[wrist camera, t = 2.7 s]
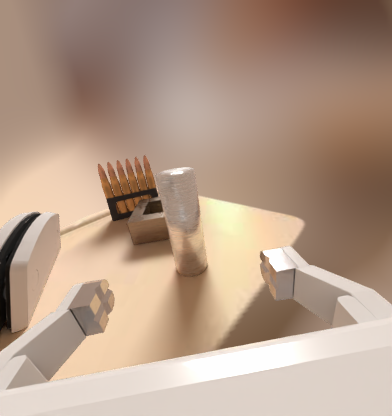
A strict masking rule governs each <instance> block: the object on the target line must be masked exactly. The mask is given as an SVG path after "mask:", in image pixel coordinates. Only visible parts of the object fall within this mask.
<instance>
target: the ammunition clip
mask: <svg viewBox="0 0 392 416" xmlns="http://www.w3.org/2000/svg"><path fill="white" fill-rule="evenodd" d="M143 161H144V168H145V173H146V179H145V176H144V174H143V171H142V168H141V165H140V163H139V161H138V159H137V158H136V157H135V167H136V173H137V180H138V183H137V180H136V177H135V175H134V172H133V169H132V166H131V164H130V162H129V160H128V159H126V169H127V174H128V180H129V183H128V180H127V178H126V175H125V173H124V170H123V167H122V165H121V164H120V162H119V161H118V160H117V171H118V174H119V179H120V183H119V181H118V179H117V177H116V175H115V172H114V169H113V167H112V166H111V164H110V163H109V162H108V163H107V165H108V173H109V176H110V180H111V185H110V183H109V181H108V179H107V176H106V174H105V171H104V169H103V168H102V166H101V165H100V164H98V172H99V176H100V179H101V183H102V188H103V190H104V193H105V196H106V199H107V203H108V206H109V210H110V213H111V216H112V220H113V221H116V220H120V219H124V218H128V217H130V216H131V215H132V213H133V211H134V209H135V207H136V206H137V204H138V202H139V200H142V199H149V198H150V197H151V198H155V197H158V193H157V189H156V185H155V181H154V177H153V174H152V171H151V168H150V165H149V162H148V160H147V158H146V156H145V155H144V160H143ZM146 180H147V183H146ZM120 184H121V186H120ZM129 184H130V186H129ZM138 184H139V186H138ZM147 184H148V187H147ZM111 186H112V188H111ZM121 187H122V190H121ZM130 187H131V189H130ZM139 187H140V189H139ZM112 189H113V191H112ZM122 191H123V193H122ZM113 192H114V193H113ZM141 196H142V197H141ZM133 198H134V199H133ZM125 201H126V202H125ZM134 201H135V202H134ZM117 204H118V205H117ZM126 204H127V205H126ZM135 205H136V206H135ZM118 207H119V208H118ZM127 207H128V208H127ZM119 210H120V211H119Z"/></svg>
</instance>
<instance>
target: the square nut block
mask: <svg viewBox="0 0 392 416" xmlns="http://www.w3.org/2000/svg"><path fill="white" fill-rule="evenodd" d="M127 225H128V228H129V231H130V234H131V237H132V240H133V243H134V245H136V244H142V243H148V242H154V241H160V240H166V239H170V238H169V234H168V229H167V225H166V221H165V216H164V212H163V207H162V203H161V199H160V197H155V198H149V199H142V200H139V202H138V204H137V206H136V207H135V209H134V211H133V213H132V215H131V216H130V218H129V220H128V222H127Z"/></svg>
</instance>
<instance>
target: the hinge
mask: <svg viewBox="0 0 392 416" xmlns="http://www.w3.org/2000/svg"><path fill="white" fill-rule="evenodd" d="M60 248H61V241H60V224H59V214H56V213H51V212H46V213H43V214H40V213H39V212H30V213H23V214H20V215H17V216H15V217H14V218H12V219H11V220H9V221H8V222H7V223H6V224H5V225H4V226H3V227H2V228H1V229H0V330H1V329H2V327H3V325H4V323H5V321H6V319H7V329H12V333H14V332H17V331H20V330H22V329H24V328H26V327H28V325H29V323H30V321H31V318H32V316H33V313H34V311H35V309H36V306H37V304H38V301H39V299H40V296H41V294H42V292H43V289H44V287H45V284H46V282H47V280H48V277H49V275H50V272H51V270H52V267H53V265H54V263H55V260H56V258H57V255H58V253H59V250H60Z"/></svg>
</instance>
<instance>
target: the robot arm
mask: <svg viewBox="0 0 392 416" xmlns="http://www.w3.org/2000/svg"><path fill="white" fill-rule="evenodd" d="M260 258H261V260H262V263H261V264H260V269H261V274H262V277H263V279H264V281H265V283H267V284H269V289H270V291H271V293H272V295H273V297H274V298H275V300H282V299H289V298H293V299H294V300H296V301H297V302H299V303H300V304H301V305H303V306H304V307H306V308H307V309H309V310H310V311H311V312H313V313H314V314H316V315H317V316H318V317H320V318H321V319H323V320H324V321H326V322H327V323H328V324H330V325H331V326H332V328H331V329H327V330H322V331H316V332H311V333H306V334H301V335H295V336H289V337H284V338H279V339H274V340H268V341H263V342H258V343H252V344H247V345H242V346H237V347H231V348H227V349H221V350H215V351H210V352H205V353H199V354H194V355H189V356H183V357H178V358H173V359H167V360H162V361H157V362H151V363H146V364H141V365H135V366H130V367H125V368H119V369H114V370H109V371H103V372H98V373H93V374H87V375H82V376H77V377H72V378H66V379H61V380H56V381H50V382H49V380H50V379H51V378H52V377H53V375H54V374H55V373H56V372H57V371H58V370H59V368H60V367H61V366H62V365H63V364H64V363H65V361H66V360H67V359H68V358H69V357H70V355H71V354H72V353H73V352H74V351H75V350H76V348H77V347H78V346H79V345H80V344H81V343H82V341H83V340H84V339H85V338H86V336H89V335H94V334H98V333H103V332H104V331H105V328H106V326H107V323H108V320H109V318H108V316H107V315H108V314H109V313H110V312H111V311H112V309H113V307H114V294H113V292H112V291H111V290H109V289H108V287H109V283H108V281H107V280H105V279H104V280H97V281H91V282H85V283H79V284H75V285H73V286H72V288H71V289H70V291H69V292H68V294H67V295H66V297H65V298H64V300H63V301H62V302H61V304H60V305H59V307H58V308H57V310H56V311H55V312H53V313H50V314H49V315H48V316H46V317H45V318H44V319H43V320H41V321H40V322H39V323H37V324H36V325H35V326H33V327H32V328H31V329H29V330H28V331H27V332H25V333H24V334H23V335H21V336H20V337H19V338H18V339H16V340H15V341H14V342H12V343H11V344H10V345H8V346H7V347H6V348H4V349H3V350H2V351H0V416H392V305H391V304H390V303H389V302H388V301H386V300H385V299H384V298H383V297H381V296H380V295H379V294H378V293H377V292H375V291H374V290H373V289H370V288H368V287H365V286H363V285H360V284H358V283H355V282H353V281H350V280H348V279H345V278H343V277H341V276H338V275H336V274H333V273H331V272H328V271H326V270H323V269H320V268H318V267H316V266H313V265H311V266H309V265H308V264H307V262H306V261H305V260H304V259H302V258H301V256H300V255H299V254H298V253H297V252H296V251H295V250H294V249H293V248H292V247H291V246H285V247H280V248H276V249H271V250H266V251H261V252H260Z"/></svg>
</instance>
